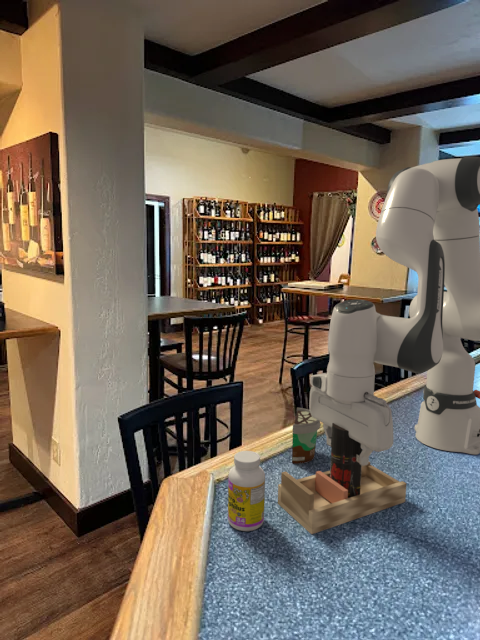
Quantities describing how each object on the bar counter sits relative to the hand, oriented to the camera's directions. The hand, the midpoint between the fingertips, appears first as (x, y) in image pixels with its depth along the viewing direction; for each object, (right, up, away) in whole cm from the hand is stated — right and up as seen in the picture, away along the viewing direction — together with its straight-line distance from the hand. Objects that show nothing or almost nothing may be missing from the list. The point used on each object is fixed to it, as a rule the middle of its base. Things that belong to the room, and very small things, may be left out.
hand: (346, 454), depth 90 cm
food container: (-5, -7, +22) cm, 23 cm away
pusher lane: (-1, -10, +1) cm, 10 cm away
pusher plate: (-3, -9, 0) cm, 9 cm away
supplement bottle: (-20, -11, -5) cm, 23 cm away
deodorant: (0, -9, +1) cm, 9 cm away
